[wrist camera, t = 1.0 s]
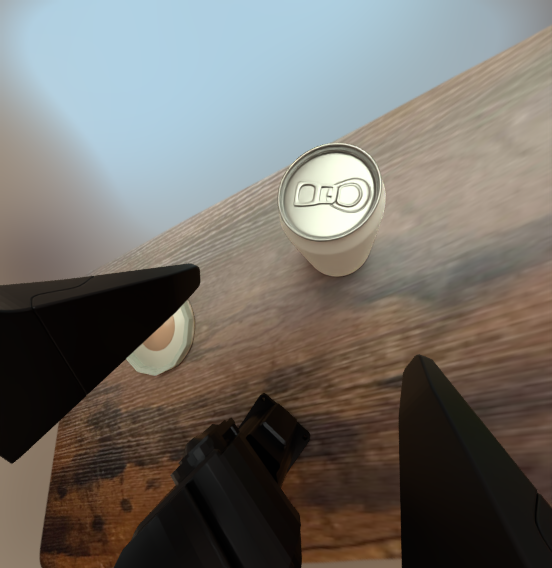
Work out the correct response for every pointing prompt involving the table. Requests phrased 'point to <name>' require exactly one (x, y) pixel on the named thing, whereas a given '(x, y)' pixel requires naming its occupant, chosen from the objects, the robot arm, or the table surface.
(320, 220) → the can
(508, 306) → the table surface
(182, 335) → the saucer
